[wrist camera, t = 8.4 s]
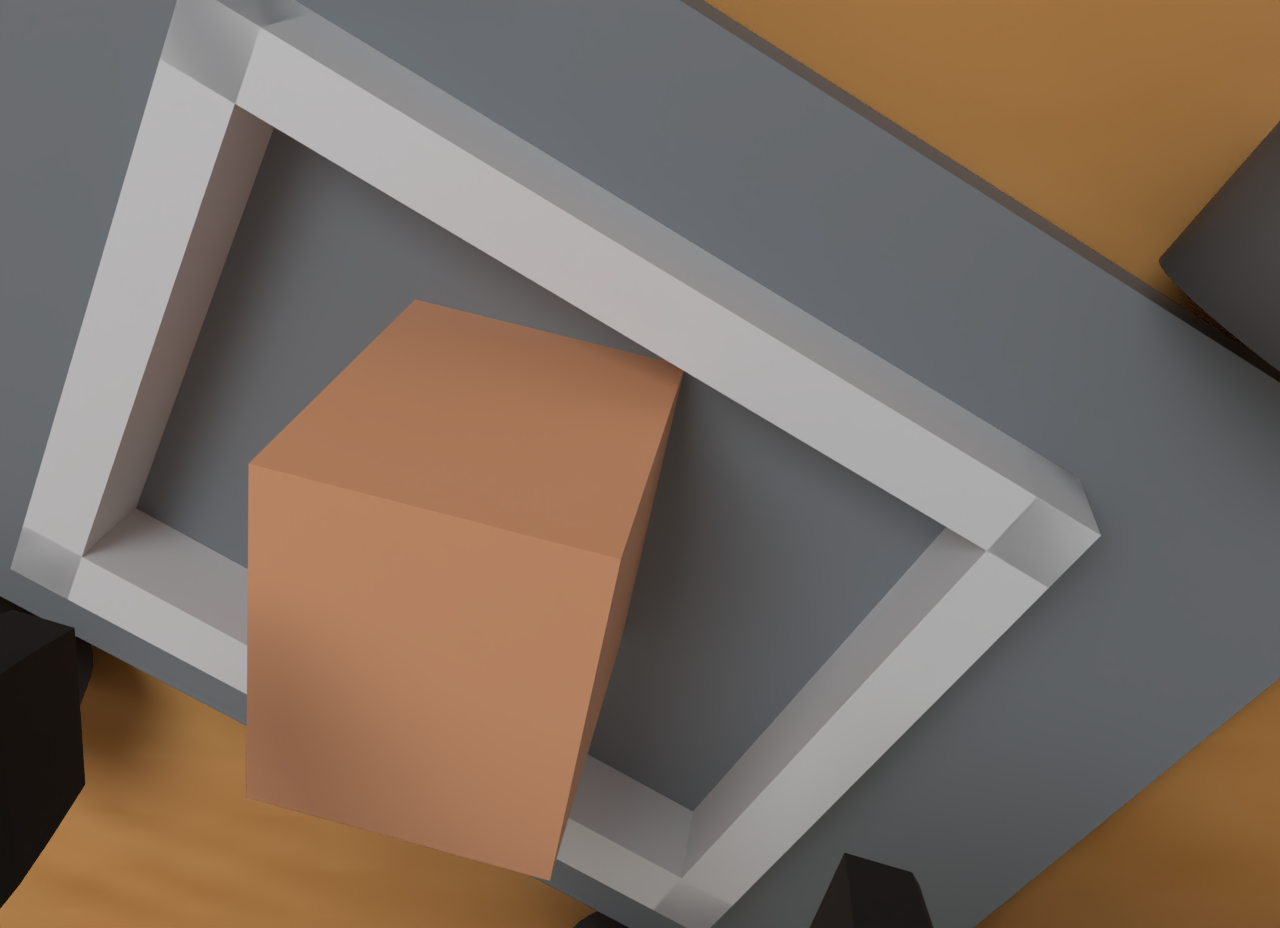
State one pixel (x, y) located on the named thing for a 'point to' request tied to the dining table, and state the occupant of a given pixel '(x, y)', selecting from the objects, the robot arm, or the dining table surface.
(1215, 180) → the dining table surface
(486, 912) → the dining table surface
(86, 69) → the chassis
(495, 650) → the orange block
